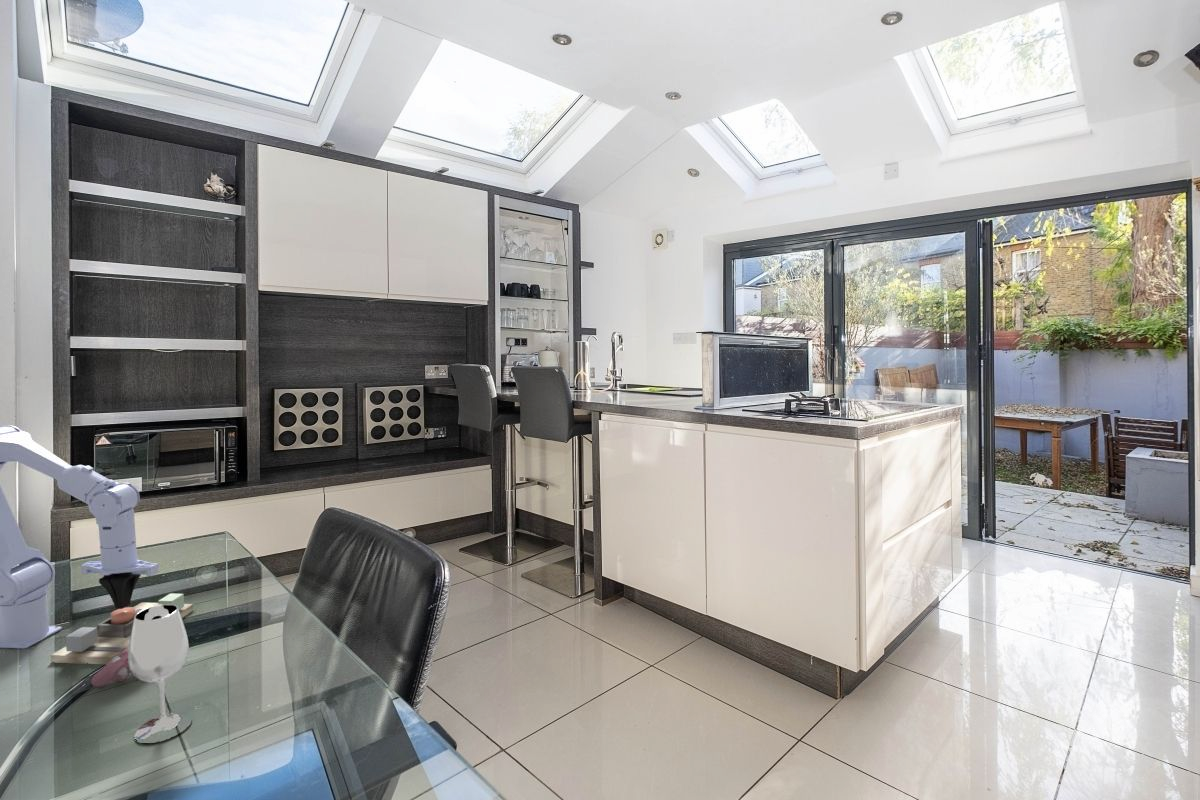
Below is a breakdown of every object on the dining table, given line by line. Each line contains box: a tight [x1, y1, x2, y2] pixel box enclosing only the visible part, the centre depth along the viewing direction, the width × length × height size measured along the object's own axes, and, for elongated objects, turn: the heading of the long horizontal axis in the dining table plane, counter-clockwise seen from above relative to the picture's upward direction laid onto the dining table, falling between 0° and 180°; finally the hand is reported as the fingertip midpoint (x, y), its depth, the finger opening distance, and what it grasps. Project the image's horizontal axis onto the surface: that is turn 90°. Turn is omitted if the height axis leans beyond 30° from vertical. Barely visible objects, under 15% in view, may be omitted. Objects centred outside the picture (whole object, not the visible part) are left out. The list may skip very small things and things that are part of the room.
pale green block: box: [157, 593, 185, 610], centre depth 129 cm, size 3×4×3 cm
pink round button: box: [110, 606, 136, 625], centre depth 122 cm, size 4×4×2 cm
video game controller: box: [91, 647, 132, 688], centre depth 109 cm, size 10×5×7 cm, turn 169°
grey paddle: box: [64, 626, 98, 652], centre depth 114 cm, size 3×4×3 cm
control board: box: [50, 602, 195, 665], centre depth 123 cm, size 12×22×4 cm, turn 179°
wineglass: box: [128, 604, 190, 740], centre depth 94 cm, size 8×8×20 cm
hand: (122, 606), depth 121 cm, fingers closed
